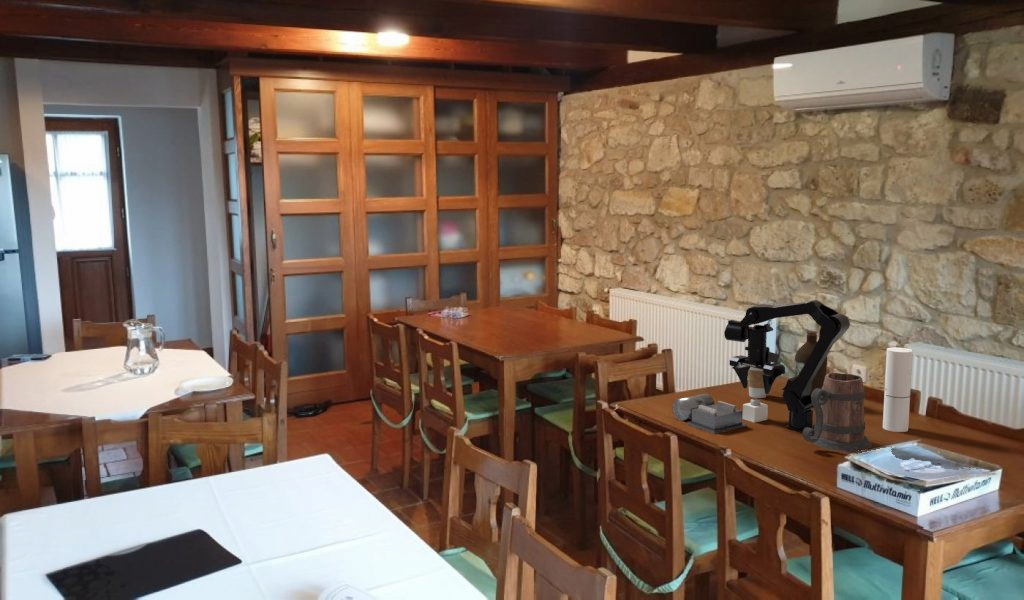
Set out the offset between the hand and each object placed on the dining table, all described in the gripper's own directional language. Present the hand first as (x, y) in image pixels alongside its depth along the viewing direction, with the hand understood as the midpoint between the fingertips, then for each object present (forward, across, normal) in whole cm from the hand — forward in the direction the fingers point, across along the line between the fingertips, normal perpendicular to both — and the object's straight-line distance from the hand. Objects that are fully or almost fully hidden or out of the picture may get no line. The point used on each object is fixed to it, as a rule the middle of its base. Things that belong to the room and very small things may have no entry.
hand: (756, 391), depth 261 cm
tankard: (+10, -30, 0) cm, 31 cm away
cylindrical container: (+10, -31, -28) cm, 43 cm away
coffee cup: (+10, +19, -22) cm, 31 cm away
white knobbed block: (+10, 0, 0) cm, 10 cm away
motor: (+9, +6, +15) cm, 19 cm away
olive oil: (+10, +4, -31) cm, 33 cm away
